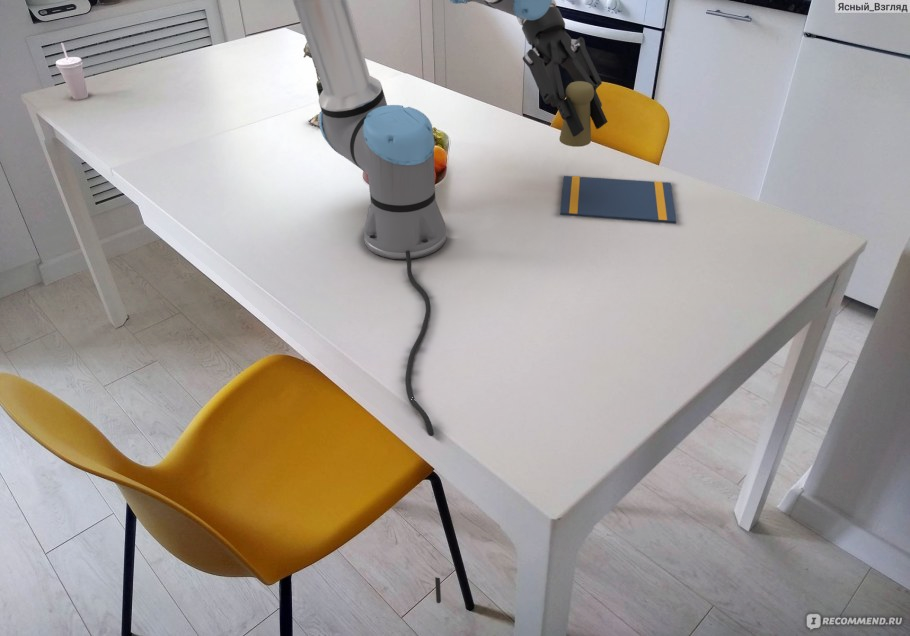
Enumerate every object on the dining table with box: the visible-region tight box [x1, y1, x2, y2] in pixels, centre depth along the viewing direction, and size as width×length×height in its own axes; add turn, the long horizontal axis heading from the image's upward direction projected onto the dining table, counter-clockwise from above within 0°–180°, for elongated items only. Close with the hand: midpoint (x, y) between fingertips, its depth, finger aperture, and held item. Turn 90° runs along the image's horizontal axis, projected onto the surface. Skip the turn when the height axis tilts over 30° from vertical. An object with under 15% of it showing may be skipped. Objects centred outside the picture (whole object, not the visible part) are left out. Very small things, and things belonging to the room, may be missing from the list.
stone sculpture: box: [303, 42, 323, 128], centre depth 170 cm, size 8×11×20 cm
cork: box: [559, 81, 594, 148], centre depth 134 cm, size 6×6×11 cm
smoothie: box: [55, 42, 89, 100], centre depth 188 cm, size 6×6×14 cm
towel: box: [559, 175, 677, 224], centre depth 144 cm, size 16×22×1 cm
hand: (590, 129), depth 132 cm, fingers closed on cork, 5 cm apart
